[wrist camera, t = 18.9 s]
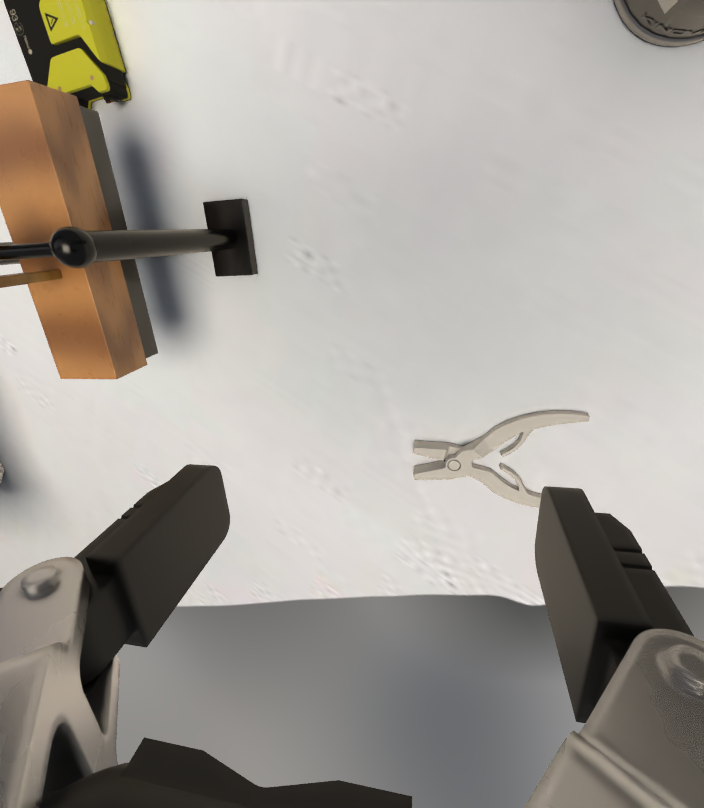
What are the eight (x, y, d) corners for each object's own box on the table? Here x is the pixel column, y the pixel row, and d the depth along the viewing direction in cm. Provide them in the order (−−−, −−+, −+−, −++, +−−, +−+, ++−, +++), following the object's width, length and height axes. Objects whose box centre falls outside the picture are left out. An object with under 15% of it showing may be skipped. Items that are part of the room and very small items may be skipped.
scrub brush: (40, 113, 30) (-151, 62, 20) (100, 104, 29) (-73, 45, 19) (112, 357, 37) (-5, 405, 27) (162, 357, 36) (59, 407, 26)
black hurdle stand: (62, 215, 39) (-221, 207, 23) (247, 199, 35) (69, 174, 19) (81, 281, 42) (-163, 318, 25) (257, 273, 38) (106, 310, 21)
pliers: (579, 516, 38) (414, 507, 42) (574, 505, 40) (415, 498, 43) (593, 417, 35) (411, 416, 38) (587, 410, 36) (412, 409, 40)
